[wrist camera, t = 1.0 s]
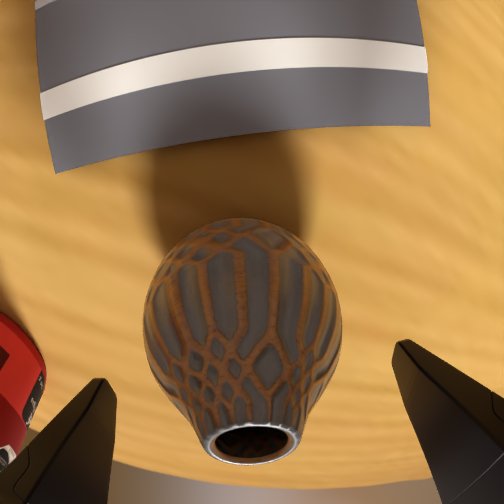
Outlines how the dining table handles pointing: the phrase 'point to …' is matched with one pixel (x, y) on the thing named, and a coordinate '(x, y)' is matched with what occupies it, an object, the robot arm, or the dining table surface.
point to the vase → (243, 336)
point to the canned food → (17, 387)
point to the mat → (221, 70)
